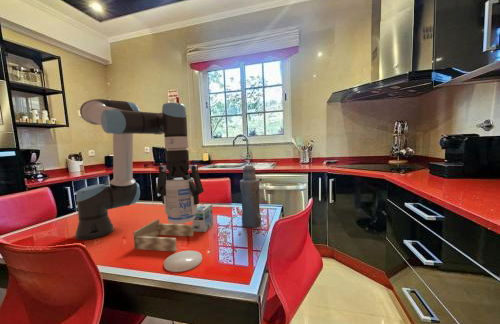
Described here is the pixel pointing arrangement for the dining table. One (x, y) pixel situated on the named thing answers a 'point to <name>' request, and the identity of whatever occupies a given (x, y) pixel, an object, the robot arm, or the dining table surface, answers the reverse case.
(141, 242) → the shelf bay
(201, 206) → the light bulb box
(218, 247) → the dining table surface
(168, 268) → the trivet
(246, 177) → the bottle
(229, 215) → the dining table surface
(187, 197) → the supplement tub
